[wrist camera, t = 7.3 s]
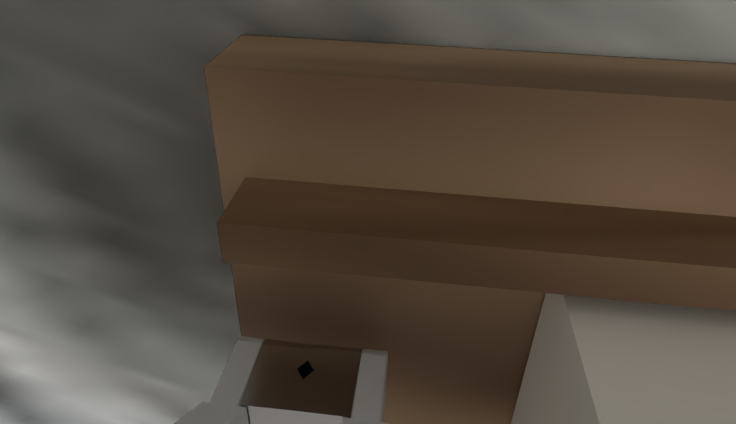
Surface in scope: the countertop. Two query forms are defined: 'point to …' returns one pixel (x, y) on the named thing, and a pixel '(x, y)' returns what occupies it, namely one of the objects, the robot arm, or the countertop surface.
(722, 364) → the cream rectangular block
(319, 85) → the gauge bed
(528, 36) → the countertop surface
